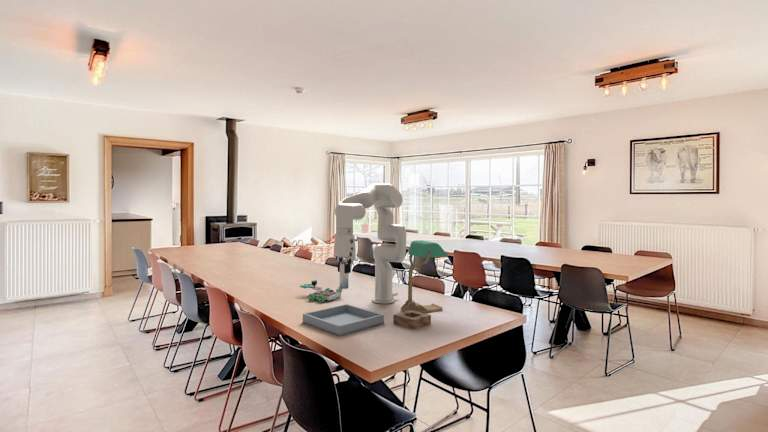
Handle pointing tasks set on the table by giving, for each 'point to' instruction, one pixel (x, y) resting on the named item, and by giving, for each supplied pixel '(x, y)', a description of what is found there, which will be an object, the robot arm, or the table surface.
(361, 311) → the tray
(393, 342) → the table surface
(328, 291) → the robot kit
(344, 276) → the pin
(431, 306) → the banker's lamp
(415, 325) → the brown square hollow block
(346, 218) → the robot arm
